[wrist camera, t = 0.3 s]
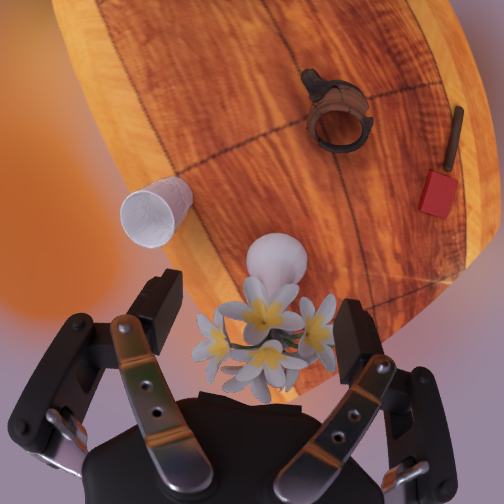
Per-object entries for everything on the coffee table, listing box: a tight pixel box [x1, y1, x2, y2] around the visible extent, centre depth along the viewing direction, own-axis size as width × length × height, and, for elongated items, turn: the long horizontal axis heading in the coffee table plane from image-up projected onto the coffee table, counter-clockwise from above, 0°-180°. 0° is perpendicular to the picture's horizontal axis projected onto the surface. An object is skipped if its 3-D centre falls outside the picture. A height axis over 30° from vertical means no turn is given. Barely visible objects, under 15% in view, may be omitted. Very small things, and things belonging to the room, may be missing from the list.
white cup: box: [120, 176, 193, 248], centre depth 36 cm, size 8×8×10 cm
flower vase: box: [192, 233, 336, 404], centre depth 33 cm, size 13×18×25 cm
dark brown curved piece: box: [301, 69, 373, 153], centre depth 30 cm, size 12×10×8 cm
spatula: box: [418, 106, 464, 219], centre depth 32 cm, size 19×6×2 cm, turn 172°
